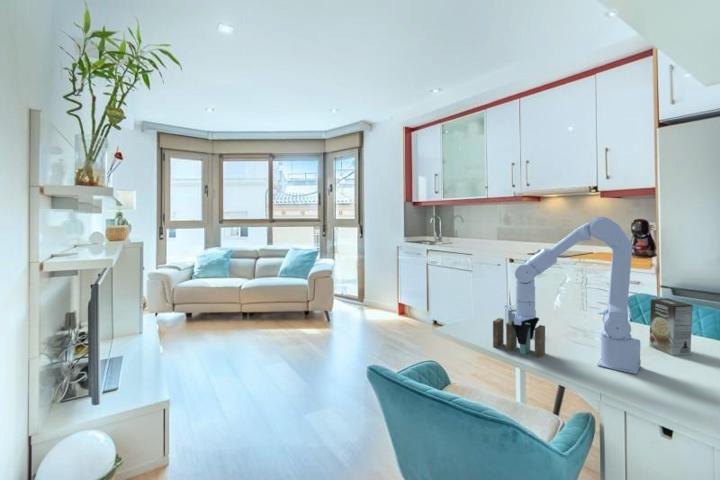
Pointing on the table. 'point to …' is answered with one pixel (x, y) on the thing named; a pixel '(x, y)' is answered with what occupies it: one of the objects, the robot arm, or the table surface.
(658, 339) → the coffee box
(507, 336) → the domino
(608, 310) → the robot arm
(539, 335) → the domino
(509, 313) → the medicine box
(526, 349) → the domino
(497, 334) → the end domino
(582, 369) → the table surface
